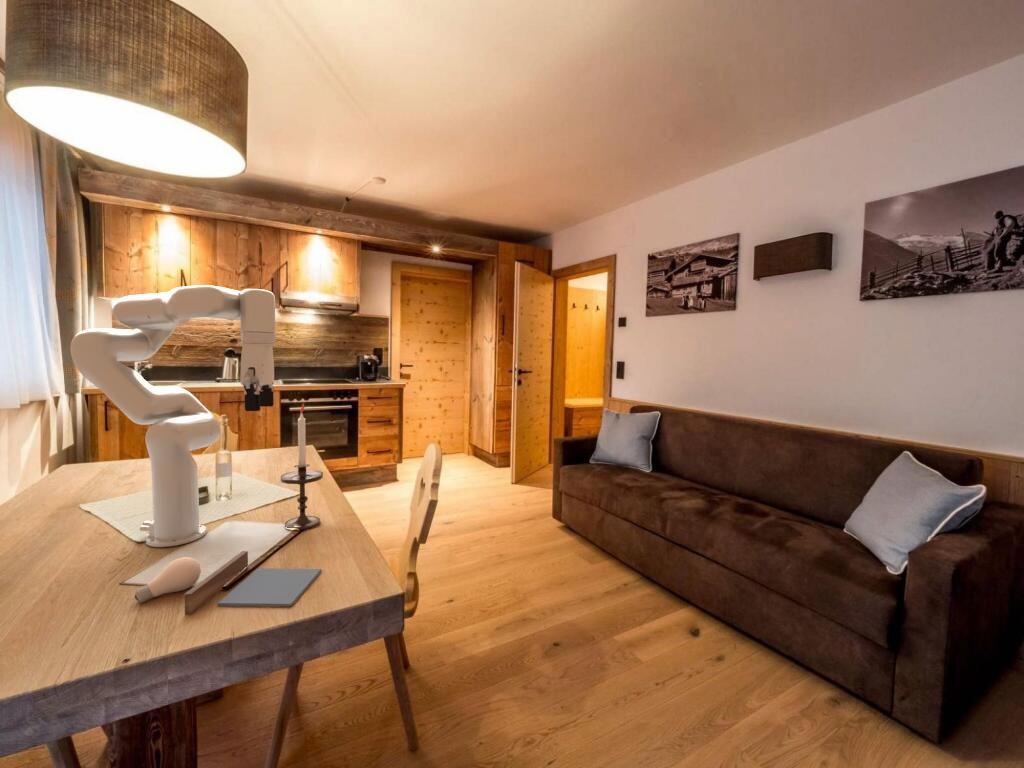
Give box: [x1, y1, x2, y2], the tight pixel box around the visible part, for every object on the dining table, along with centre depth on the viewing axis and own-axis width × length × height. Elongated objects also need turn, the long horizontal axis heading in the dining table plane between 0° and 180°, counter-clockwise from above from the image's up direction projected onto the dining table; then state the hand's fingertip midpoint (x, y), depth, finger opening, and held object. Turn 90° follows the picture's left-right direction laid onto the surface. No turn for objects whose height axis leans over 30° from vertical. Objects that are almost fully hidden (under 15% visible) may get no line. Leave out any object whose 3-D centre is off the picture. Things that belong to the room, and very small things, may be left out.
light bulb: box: [134, 556, 202, 603], centre depth 89 cm, size 7×7×11 cm
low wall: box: [183, 550, 249, 616], centre depth 91 cm, size 1×18×4 cm, turn 1°
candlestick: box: [280, 402, 324, 532], centre depth 125 cm, size 11×11×35 cm
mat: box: [217, 567, 322, 608], centre depth 92 cm, size 14×14×1 cm
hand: (260, 408), depth 111 cm, fingers open, 9 cm apart
